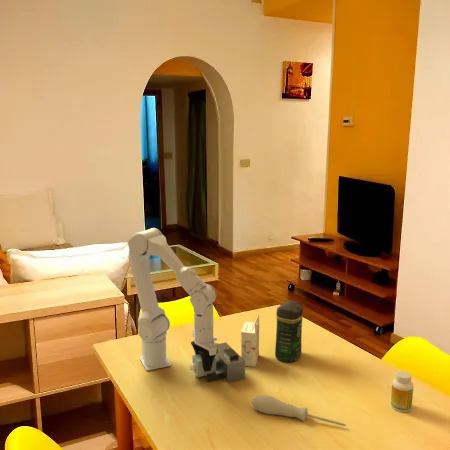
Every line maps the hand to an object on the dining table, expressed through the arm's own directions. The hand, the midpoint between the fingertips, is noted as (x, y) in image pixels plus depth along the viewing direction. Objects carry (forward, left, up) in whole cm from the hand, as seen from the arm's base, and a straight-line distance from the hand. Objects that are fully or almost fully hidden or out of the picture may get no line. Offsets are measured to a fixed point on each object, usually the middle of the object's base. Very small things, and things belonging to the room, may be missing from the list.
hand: (204, 367), depth 143 cm
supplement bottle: (+38, +43, -3) cm, 57 cm away
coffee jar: (0, +31, -3) cm, 31 cm away
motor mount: (-1, +5, -3) cm, 6 cm away
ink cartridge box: (-3, +18, -3) cm, 18 cm away
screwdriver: (+30, +14, -3) cm, 34 cm away
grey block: (0, 0, -2) cm, 2 cm away
